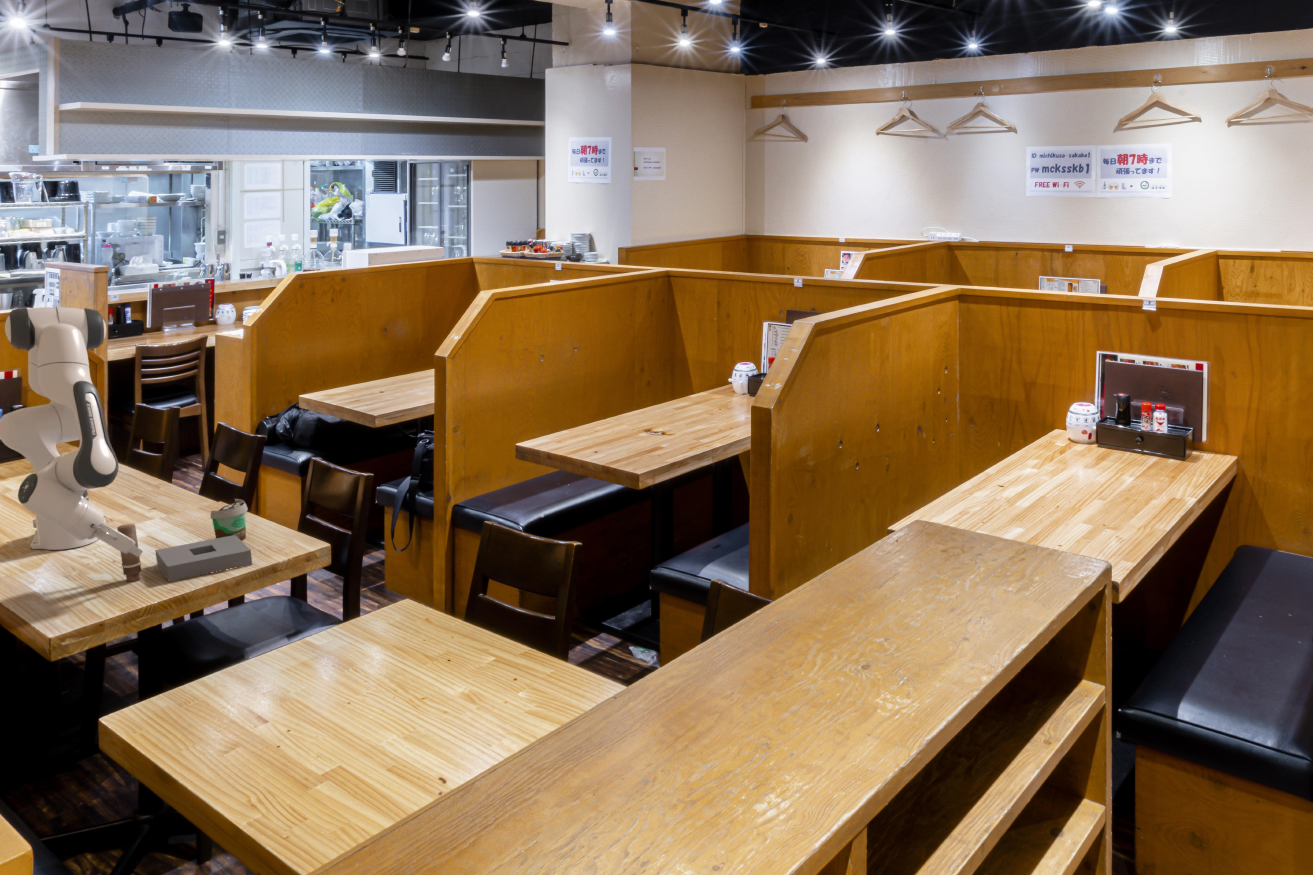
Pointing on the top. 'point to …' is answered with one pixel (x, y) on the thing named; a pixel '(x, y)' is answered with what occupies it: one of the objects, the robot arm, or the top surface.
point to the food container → (230, 520)
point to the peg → (130, 555)
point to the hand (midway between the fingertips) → (131, 549)
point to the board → (203, 557)
